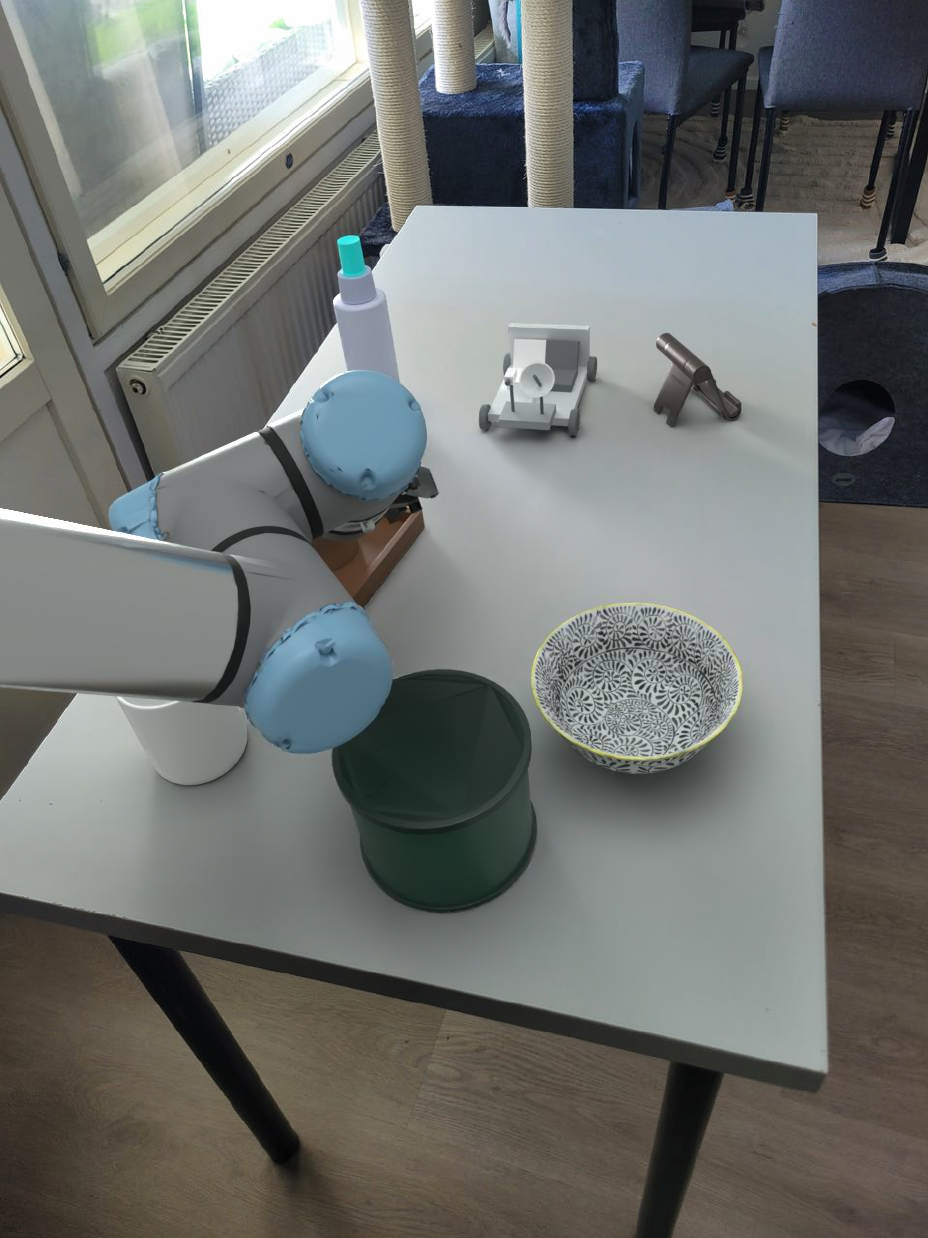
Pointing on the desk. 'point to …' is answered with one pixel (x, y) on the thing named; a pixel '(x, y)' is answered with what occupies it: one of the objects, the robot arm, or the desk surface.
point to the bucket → (442, 791)
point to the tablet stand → (690, 382)
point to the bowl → (636, 685)
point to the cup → (187, 737)
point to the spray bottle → (363, 314)
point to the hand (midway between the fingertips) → (323, 533)
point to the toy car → (542, 378)
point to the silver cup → (335, 551)
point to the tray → (379, 555)
